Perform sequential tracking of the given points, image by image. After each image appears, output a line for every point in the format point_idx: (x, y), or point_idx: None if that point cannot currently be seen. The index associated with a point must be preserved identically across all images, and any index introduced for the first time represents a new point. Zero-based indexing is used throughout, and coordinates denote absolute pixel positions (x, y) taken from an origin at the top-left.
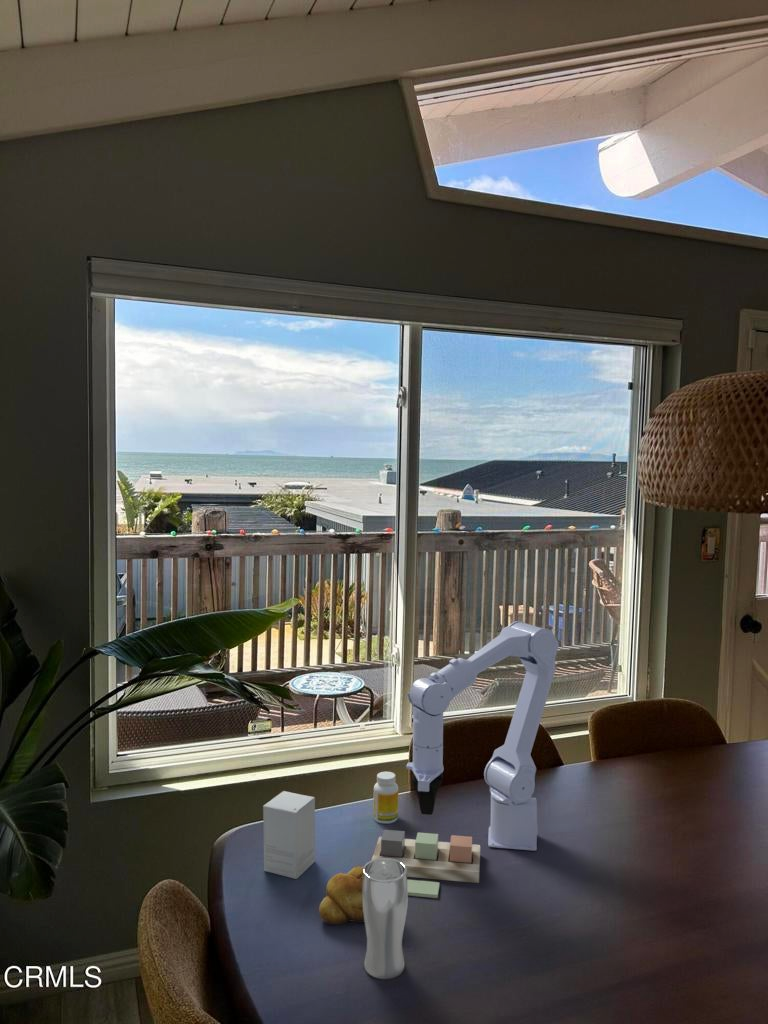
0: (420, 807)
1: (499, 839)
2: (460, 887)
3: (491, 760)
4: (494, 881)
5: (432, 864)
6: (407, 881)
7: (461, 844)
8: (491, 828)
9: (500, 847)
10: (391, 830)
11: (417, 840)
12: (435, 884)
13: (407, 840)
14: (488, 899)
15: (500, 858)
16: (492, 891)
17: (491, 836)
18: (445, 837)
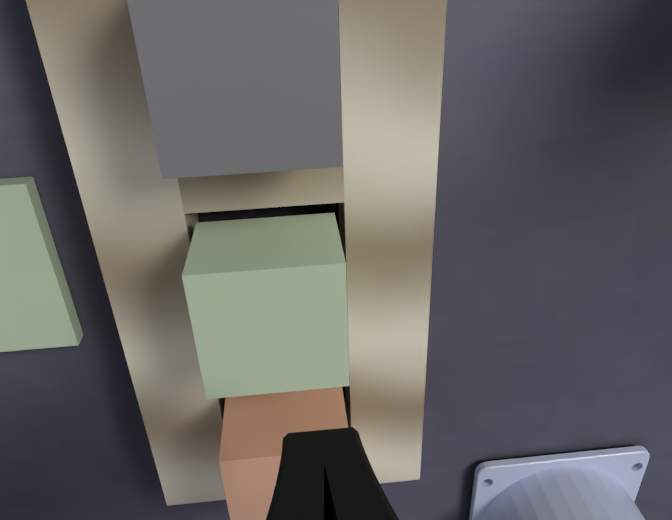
0: (275, 487)
1: (499, 516)
2: (111, 411)
3: None
4: (210, 504)
5: (160, 323)
6: (6, 193)
7: (250, 505)
8: (560, 510)
9: (472, 499)
10: (336, 45)
11: (218, 285)
12: (51, 331)
13: (416, 132)
14: (68, 503)
15: (394, 500)
16: (133, 507)
17: (542, 479)
18: (569, 289)
